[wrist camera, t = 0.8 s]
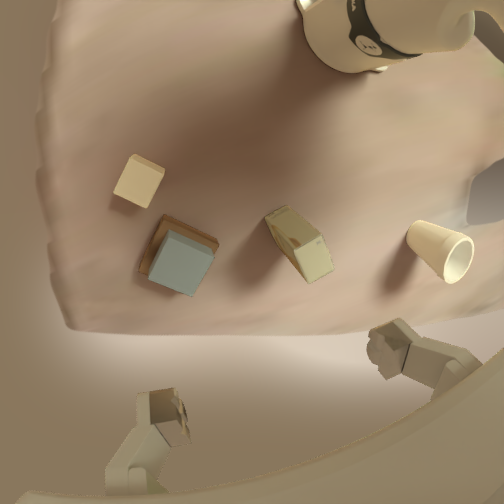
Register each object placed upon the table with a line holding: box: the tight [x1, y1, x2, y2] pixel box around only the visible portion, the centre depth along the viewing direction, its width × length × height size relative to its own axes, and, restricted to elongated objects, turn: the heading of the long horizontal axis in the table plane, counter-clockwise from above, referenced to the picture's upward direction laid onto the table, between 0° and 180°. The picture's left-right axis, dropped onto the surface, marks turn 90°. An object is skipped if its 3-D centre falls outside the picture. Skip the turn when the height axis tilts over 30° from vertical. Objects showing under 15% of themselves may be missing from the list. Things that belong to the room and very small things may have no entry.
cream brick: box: [113, 154, 165, 209], centre depth 38 cm, size 5×5×5 cm
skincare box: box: [265, 205, 335, 284], centre depth 44 cm, size 6×4×12 cm
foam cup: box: [406, 220, 474, 284], centre depth 52 cm, size 10×9×13 cm
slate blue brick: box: [148, 229, 215, 297], centre depth 43 cm, size 7×7×3 cm
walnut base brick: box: [139, 214, 219, 275], centre depth 45 cm, size 9×9×3 cm
